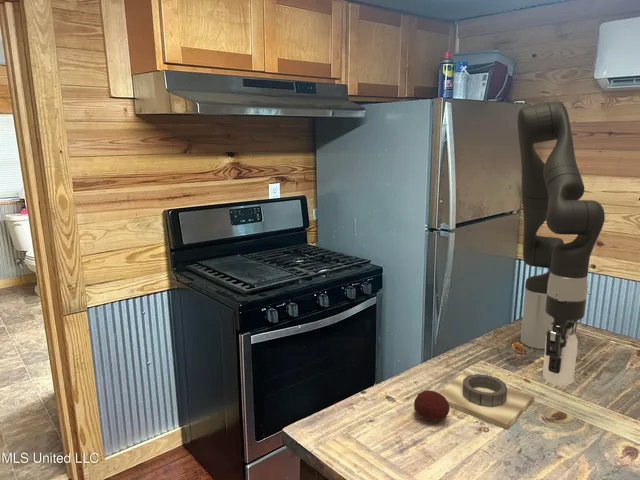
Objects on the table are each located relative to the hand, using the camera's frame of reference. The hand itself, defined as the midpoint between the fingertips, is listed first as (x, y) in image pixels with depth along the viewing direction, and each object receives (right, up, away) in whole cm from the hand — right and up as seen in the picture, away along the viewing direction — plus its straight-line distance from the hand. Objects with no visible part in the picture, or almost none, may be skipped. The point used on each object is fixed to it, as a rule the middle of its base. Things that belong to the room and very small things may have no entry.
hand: (558, 366), depth 108 cm
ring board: (-13, -11, +11) cm, 20 cm away
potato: (-27, -13, +4) cm, 31 cm away
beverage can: (0, -4, +1) cm, 4 cm away
